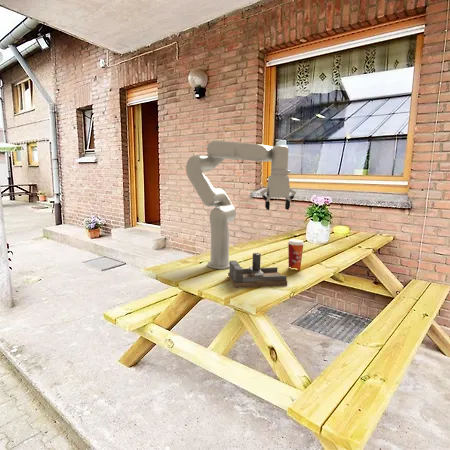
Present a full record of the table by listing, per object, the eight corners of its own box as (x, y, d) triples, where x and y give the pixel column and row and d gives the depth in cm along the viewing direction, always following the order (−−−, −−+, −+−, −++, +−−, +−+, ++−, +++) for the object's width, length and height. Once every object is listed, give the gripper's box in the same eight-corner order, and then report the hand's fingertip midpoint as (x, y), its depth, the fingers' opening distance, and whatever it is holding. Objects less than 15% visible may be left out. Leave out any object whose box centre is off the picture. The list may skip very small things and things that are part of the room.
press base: (228, 276, 160) (228, 260, 158) (275, 274, 165) (276, 258, 163) (235, 287, 145) (235, 270, 144) (287, 285, 150) (288, 268, 149)
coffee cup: (294, 272, 169) (296, 243, 166) (283, 267, 175) (284, 240, 172) (306, 269, 173) (307, 241, 171) (294, 265, 180) (295, 238, 177)
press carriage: (248, 272, 159) (249, 251, 157) (256, 272, 160) (257, 251, 158) (254, 279, 149) (255, 257, 147) (263, 279, 150) (264, 256, 148)
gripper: (293, 173, 160) (291, 208, 163) (258, 172, 157) (257, 208, 160) (299, 173, 153) (297, 210, 156) (263, 172, 150) (262, 210, 153)
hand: (277, 209), depth 158 cm, fingers open, 9 cm apart
